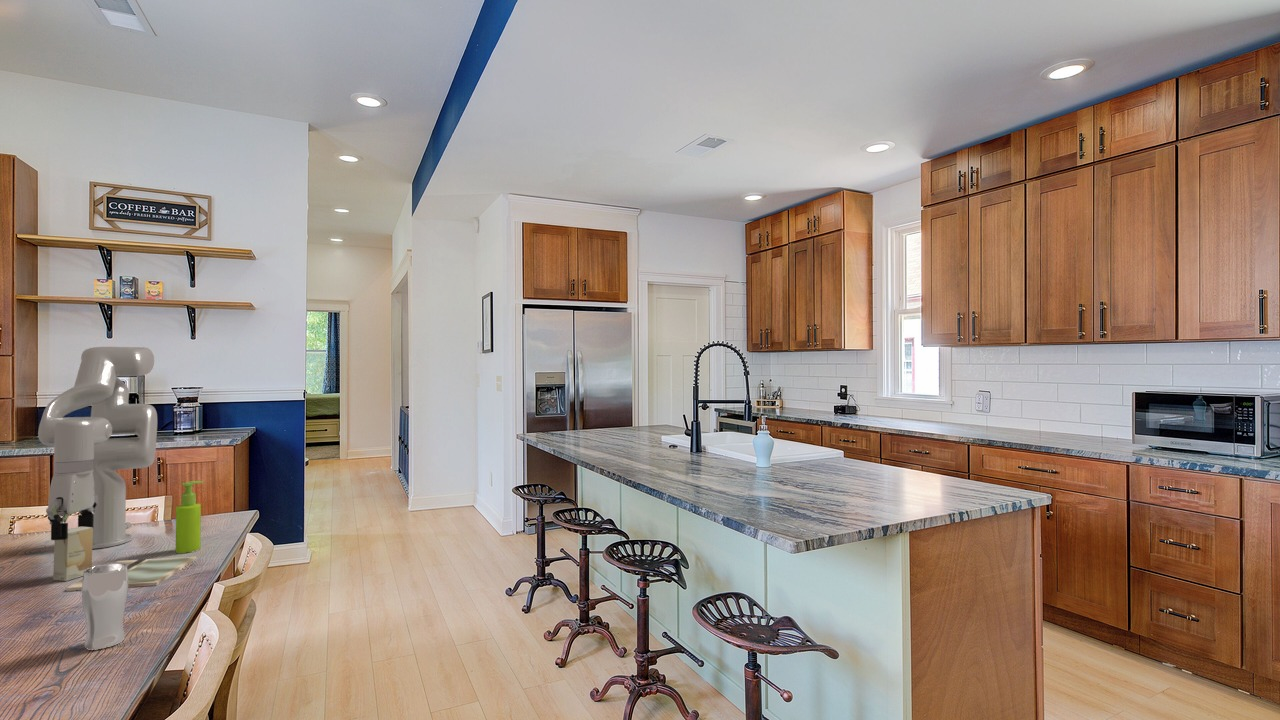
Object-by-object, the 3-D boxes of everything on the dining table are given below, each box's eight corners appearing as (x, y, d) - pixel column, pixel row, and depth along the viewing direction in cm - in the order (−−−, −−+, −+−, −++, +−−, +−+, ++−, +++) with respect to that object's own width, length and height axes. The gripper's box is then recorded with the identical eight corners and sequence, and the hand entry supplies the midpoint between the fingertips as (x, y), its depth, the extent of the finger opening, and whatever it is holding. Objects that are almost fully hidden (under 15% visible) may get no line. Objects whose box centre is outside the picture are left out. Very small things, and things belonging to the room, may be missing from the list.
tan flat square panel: (117, 563, 166) (117, 560, 166) (196, 559, 171) (196, 555, 171) (66, 591, 147) (66, 587, 147) (156, 585, 151) (156, 581, 151)
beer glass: (100, 636, 124) (100, 562, 124) (136, 635, 124) (137, 561, 124) (71, 652, 117) (71, 574, 117) (110, 651, 117) (110, 573, 117)
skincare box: (65, 581, 153) (66, 533, 153) (52, 580, 154) (52, 532, 154) (93, 573, 159) (93, 526, 159) (80, 571, 160) (80, 525, 160)
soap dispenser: (208, 547, 181) (209, 480, 181) (184, 554, 175) (185, 485, 175) (194, 545, 183) (195, 479, 183) (170, 552, 177) (171, 483, 177)
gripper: (79, 463, 164) (78, 527, 163) (31, 473, 147) (29, 544, 147) (112, 462, 166) (111, 525, 165) (67, 472, 149) (66, 542, 148)
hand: (72, 534), depth 156 cm, fingers open, 9 cm apart
